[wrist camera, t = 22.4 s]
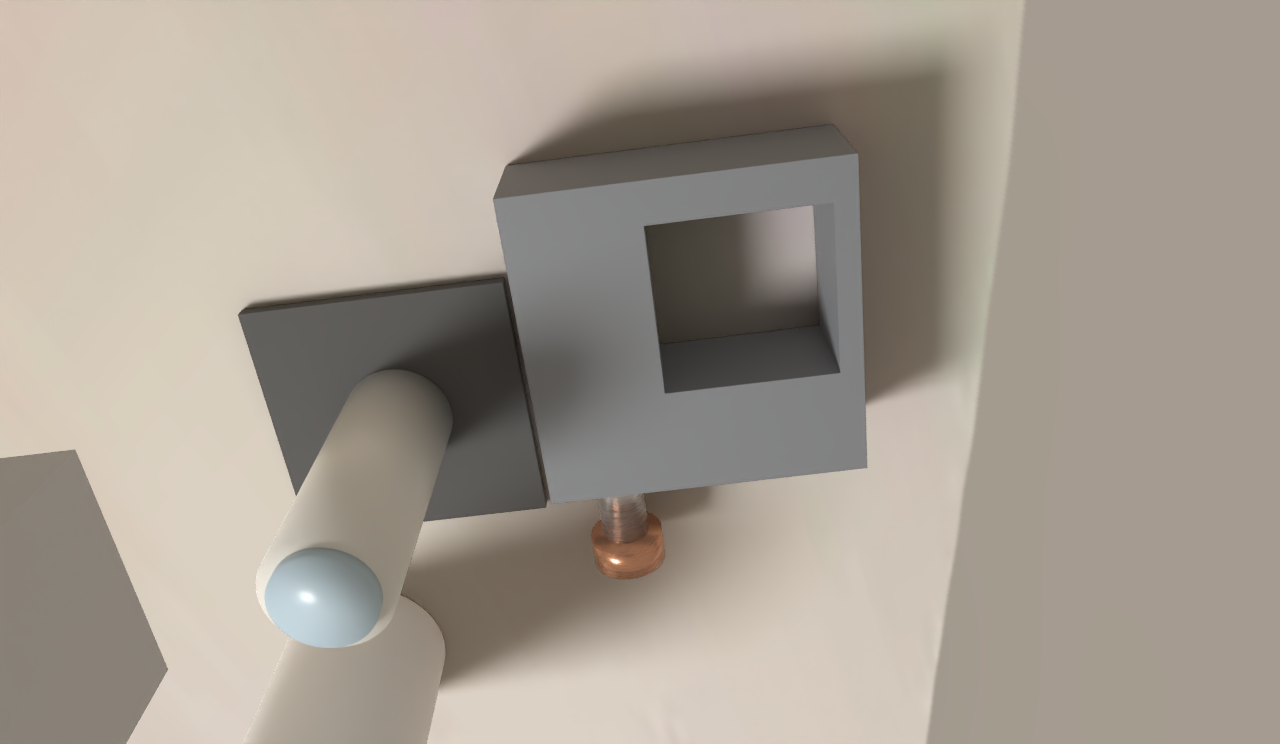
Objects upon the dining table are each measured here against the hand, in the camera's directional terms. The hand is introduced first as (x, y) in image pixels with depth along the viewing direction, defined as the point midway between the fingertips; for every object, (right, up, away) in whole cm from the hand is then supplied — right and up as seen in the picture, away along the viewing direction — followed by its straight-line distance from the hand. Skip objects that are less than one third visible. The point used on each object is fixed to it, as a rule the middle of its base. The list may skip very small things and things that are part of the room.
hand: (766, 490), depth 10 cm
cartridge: (-13, -1, +38) cm, 40 cm away
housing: (+1, +5, +36) cm, 37 cm away
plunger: (-2, -3, +39) cm, 39 cm away
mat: (-13, -1, +39) cm, 41 cm away
